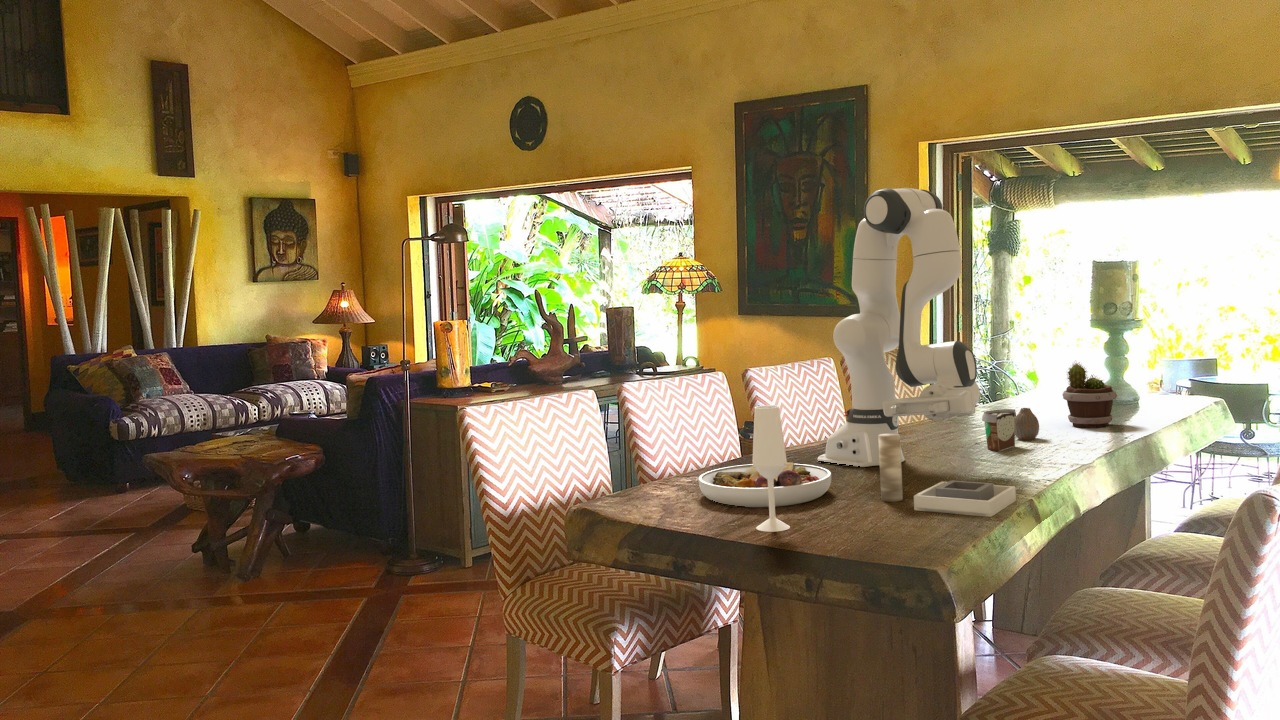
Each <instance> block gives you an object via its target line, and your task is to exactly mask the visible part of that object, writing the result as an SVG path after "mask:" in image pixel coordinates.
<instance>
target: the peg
mask: <svg viewBox="0 0 1280 720" xmlns="http://www.w3.org/2000/svg"><path fill="white" fill-rule="evenodd" d="M878 438H879V460H880V465H879V478H880V479H879V481H880V499H881V501H883V502H891V503H892V502H900V501H903V498H904V497H903V495H904V494H903V474H902V473H903V471H902V462H901V450H902V447H901V448H900V446H901V434H899V433H898V434H880V435H878Z"/></svg>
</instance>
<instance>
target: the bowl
mask: <svg viewBox="0 0 1280 720" xmlns="http://www.w3.org/2000/svg"><path fill="white" fill-rule="evenodd" d="M831 483H832V472H831V470H829V469H827V468H824V467H821V466H817V465H812V464H804V463H803V464H800V463H794V462H793V461H792V462H788V461H787V464H786V466H785V468H784V469H783V471H782V472H781V473H780V474H779V475H778V476H777V477H776V478H774V498H775V508H776V507H785V506H794V505H800V504H803V503H804V504H805V503H808V502H811V501H814V500H816V499H818V498H820V497H822V496H823V495H824V494H825V493H826V492H827V491H828V490H829V488H830V486H831ZM698 486H699V488H700V489H699V490H700V491H701V493H702V495H703V496H705V497H706V498H707V499H708V500H710V501H712V500H713V501H712V502H714V501H715V502H714V503H716V502H719V503H724V504H730V505H735V506H734V507H737V506H745V507H744V508H769V498H768V479H766V478H765V477H763V476H762V475H761V474H760V473H759V472H758V471H757V470H756V469H755V467H754V466H753V463H750V464H740V465H732V466H726V467H721V468H716V469H712V470H708V471H706V472H705V473H704V472H703V473H702V474H700V475H699V476H698ZM719 503H718V504H719Z"/></svg>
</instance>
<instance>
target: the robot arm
mask: <svg viewBox="0 0 1280 720" xmlns="http://www.w3.org/2000/svg"><path fill="white" fill-rule="evenodd" d="M863 217H864V218H863V219H862V220H860V222H859V223H858V226H857V230H856V234H855V238H854V244H853V251H852V253H853V254H852V270H851V271H852V272H851V273H852V274H851V289H852V292H853V293H854V294H855V296H856V298H857V302H858V306H859V313H854V314H851V315H849V316H847V317H845V318H843V319H841V320H840V321H839V322H838V323H837V324H836V325H835V327H834V329H833V333H832V335H833V337H832V339H833V343H834V345H835V347H836V348H837V350H838V351H839V352H840V353H841V354H842V357H843V358H844V361H845V364H846V367H847V370H848V374H849V377H850V386H851V387H850V389H851V390H850V391H851V401H852V402H851V404H852V407H851V408H849V409H848V410H846V411H844V412H843V417H846V422H845V423H844V424H843V425H841V426H840V427H839V428H837V430H835V431H834V432H833V433H831V434H830V435H829V436H828V438H827V441H826V445H825V452H824V453H823V454H821V455H819V456H818V457H817V460H818V461H824V462H831V463H837V464H836V465H839V464H846V465H845V466H849V465H853V466H852V467H858V466H860V468H865V467H872V466H873V467H874V466H880V460H879V438H878V435H880V434H899V431H898V429H899V417H906V416H907V417H909V416H923V417H925V418H926V419H927V420H929V421H931V422H943V421H947V420H951V419H954V418H956V417H964V416H970V415H971V416H972V415H974V414H976V406H977V404H978V403H979V400H980V398H981V397H980V396H981V390H980V388H979V385H978V383H977V382H976V379H977V374H978V372H977V371H978V368H977V360H976V357H975V355H974V352H973V351H972V350H971V348H970V347H968V345H966V343H964V342H962V341H961V340H953V341H944V342H939V343H931V344H921V326H922V325H921V324H922V323H921V322H922V312H923V310H924V307H925V306H926V305H927V304H928V303H929V302H930V301H931V300H933V299H934V298H936V297H937V296H940V295H941V294H943V293H944V292H947V291H948V290H949V289H950V288H952V286H954V285H955V284H956V282H957V281H958V279H959V277H960V276H961V273H962V256H961V248H960V241H959V237H958V232H957V229H956V226H955V221H954V220H953V217H952V215H951V214H950V213H949V212H948V211H947V210H945V209H943V203H942V201H941V199H940V197H939V196H937V195H936V194H935V193H934V192H932V191H929V190H926V189H921V188H920V189H919V188H918V189H917V188H913V187H911V188H910V187H901V188H882V189H878V190H876V191H874V192H873V193H870V194H869V196H868V197H867V199H866V200H865V202H864V206H863ZM904 235H905V236H907V237H908V239H909V240H910V244H911V250H912V263H913V265H912V270H911V274H910V277H909V279H908V280H907V281H905V283H904V284H903V287H902V291H901V300H900V309H899V304H898V299H897V288H896V287H897V286H896V284H897V283H896V282H897V265H898V263H897V262H898V244H899V241H900V239H901V238H902V237H903V236H904ZM897 348H898V349H897ZM895 349H897V354H896V357H895V372H896V375H897V377H898V378H899V380H900V381H902V383H904V384H905V385H907V386H909V387H911V388H916V387H921V386H925V385H927V386H925V387H924V388H923V389H922V390H921V392H920V394H919V396H914V397H900V398H896V381H895V376H894V375H893V373H892V372H891V371H890V370H889V367H888V364H887V362H886V359H885V354H884V353H888V352H892V351H893V350H895ZM900 448H901V463H902V462H904V461H905V460H906V459H905V457H904V454H903V450H902V447H901V445H900ZM818 461H817V462H818Z"/></svg>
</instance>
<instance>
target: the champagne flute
mask: <svg viewBox="0 0 1280 720" xmlns="http://www.w3.org/2000/svg"><path fill="white" fill-rule="evenodd" d="M753 413H754V414H753V415H754V418H753V439H752V463H751V464H753V466H754V467H755V469H756V470H757V471H758V472H759V473H760V474H761V475H762V476H763V477H765V478H766V479H768V498H769V507H768V511H769V512H768V514H769V517H768V518H767V519H766V520H765V521H763V522H762V523H760V524H759V525H758V526H756V527H755V529H756V530H758V531H760V532H771V533H772V532H773V533H774V532H783V531H786V530H789V529H791V526H790V525H788V524H787V523H785V522H783V521H782V520H780V519H778V518H777V517H776V507H775V498H774V478H776V477H777V476H778V475H779V474H780V473H781V472H782V471H783V469H784V468H785V466H786V464H787V462H788V461H787V453H786V447H785V446H786V445H785V441H784V440H785V439H784V431H783V426H782V420H781V412H780V407H779V405H777V404H775V405H772V404H771V405H758V406H754V412H753Z"/></svg>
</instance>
